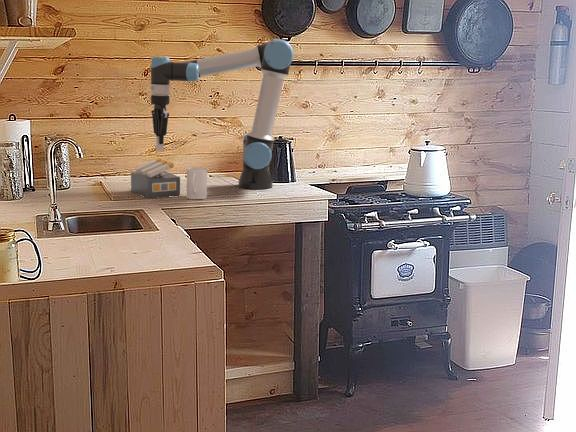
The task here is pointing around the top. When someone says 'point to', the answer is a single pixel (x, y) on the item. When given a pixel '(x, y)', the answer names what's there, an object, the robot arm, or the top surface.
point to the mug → (196, 183)
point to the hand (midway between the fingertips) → (159, 151)
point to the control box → (155, 185)
